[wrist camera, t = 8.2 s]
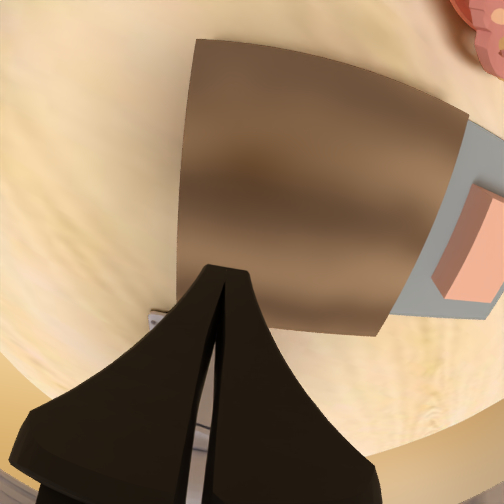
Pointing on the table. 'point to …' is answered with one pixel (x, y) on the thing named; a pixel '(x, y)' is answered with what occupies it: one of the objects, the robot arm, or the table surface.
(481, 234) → the tile
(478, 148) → the mat
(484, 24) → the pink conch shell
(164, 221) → the table surface
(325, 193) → the step
